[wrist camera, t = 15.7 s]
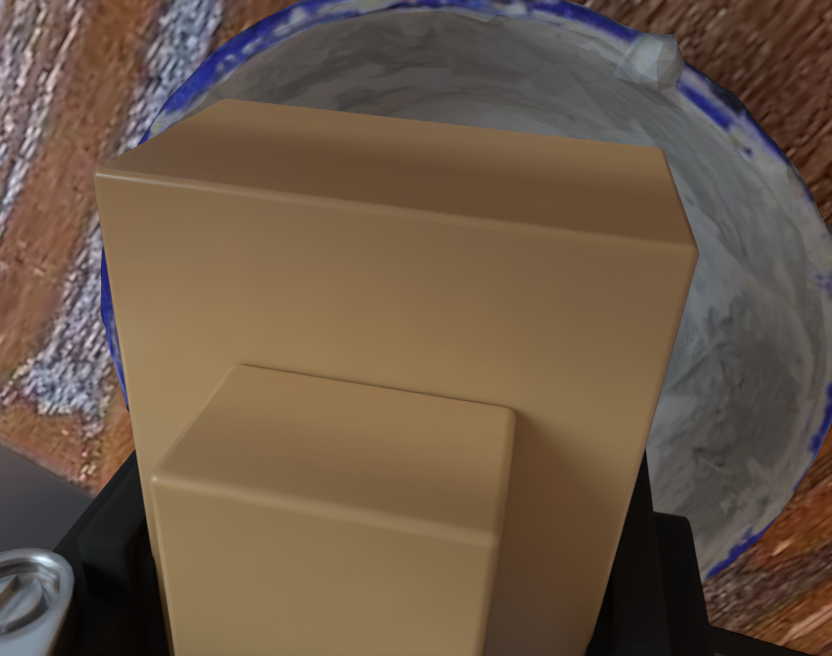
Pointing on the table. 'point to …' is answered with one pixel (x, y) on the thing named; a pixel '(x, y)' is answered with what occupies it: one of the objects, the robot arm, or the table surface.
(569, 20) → the bowl
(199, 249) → the brush
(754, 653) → the calculator
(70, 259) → the table surface
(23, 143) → the table surface
